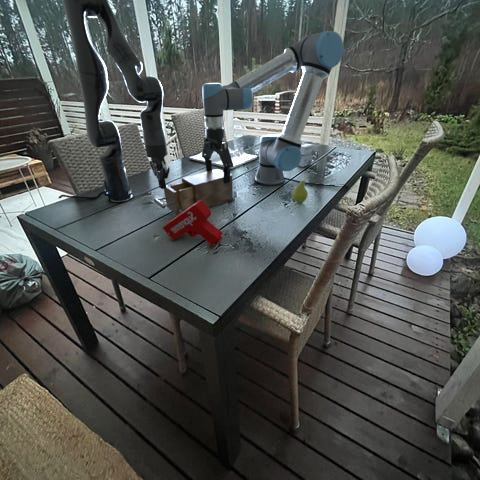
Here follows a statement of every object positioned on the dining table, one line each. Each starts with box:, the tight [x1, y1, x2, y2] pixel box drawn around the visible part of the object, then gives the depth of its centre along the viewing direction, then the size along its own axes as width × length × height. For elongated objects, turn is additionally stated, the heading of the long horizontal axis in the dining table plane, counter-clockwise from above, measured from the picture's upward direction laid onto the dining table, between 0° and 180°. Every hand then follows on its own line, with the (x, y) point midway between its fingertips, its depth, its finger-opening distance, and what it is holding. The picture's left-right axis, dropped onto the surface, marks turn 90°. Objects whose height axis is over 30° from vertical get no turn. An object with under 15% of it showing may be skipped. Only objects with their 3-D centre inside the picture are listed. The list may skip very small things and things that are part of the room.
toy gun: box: [162, 200, 224, 248], centre depth 93 cm, size 18×4×15 cm
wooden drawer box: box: [181, 168, 234, 209], centre depth 120 cm, size 19×11×12 cm, turn 129°
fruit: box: [291, 174, 311, 204], centre depth 118 cm, size 7×8×12 cm
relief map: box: [189, 146, 258, 170], centre depth 177 cm, size 27×35×5 cm
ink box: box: [297, 143, 314, 168], centre depth 163 cm, size 8×5×12 cm, turn 135°
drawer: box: [153, 181, 195, 216], centre depth 113 cm, size 23×10×10 cm, turn 129°
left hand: (162, 188), depth 106 cm, fingers closed
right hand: (218, 178), depth 120 cm, fingers open, 13 cm apart
